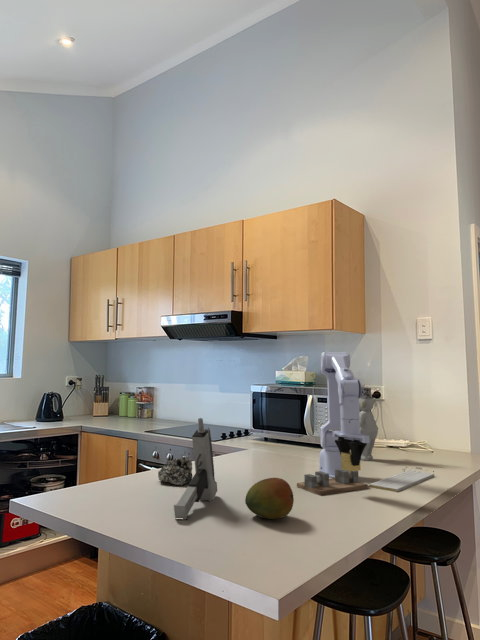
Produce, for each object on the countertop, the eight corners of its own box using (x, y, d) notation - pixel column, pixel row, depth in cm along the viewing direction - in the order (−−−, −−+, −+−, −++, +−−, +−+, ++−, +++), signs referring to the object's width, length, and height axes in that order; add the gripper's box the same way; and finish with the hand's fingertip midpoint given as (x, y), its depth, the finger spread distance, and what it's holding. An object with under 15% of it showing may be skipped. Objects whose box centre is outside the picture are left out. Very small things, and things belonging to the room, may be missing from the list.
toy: (368, 455, 213) (367, 387, 216) (387, 458, 207) (385, 387, 210) (346, 460, 200) (345, 388, 203) (365, 463, 194) (364, 388, 197)
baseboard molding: (361, 487, 157) (396, 494, 149) (361, 478, 157) (396, 484, 149) (402, 473, 180) (434, 478, 172) (401, 465, 180) (434, 469, 172)
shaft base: (296, 486, 155) (296, 470, 155) (342, 480, 164) (342, 465, 164) (320, 495, 144) (319, 478, 145) (367, 488, 153) (367, 472, 154)
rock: (204, 486, 161) (197, 459, 167) (193, 478, 153) (186, 449, 160) (168, 501, 162) (163, 474, 168) (156, 493, 154) (150, 465, 161)
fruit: (288, 528, 114) (288, 484, 115) (238, 522, 118) (238, 480, 119) (297, 514, 125) (297, 474, 126) (251, 509, 129) (251, 471, 130)
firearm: (164, 452, 117) (197, 411, 141) (174, 540, 122) (204, 486, 146) (181, 453, 116) (212, 412, 140) (191, 541, 121) (219, 487, 144)
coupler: (341, 469, 148) (341, 452, 148) (351, 467, 150) (351, 451, 150) (350, 471, 144) (350, 454, 145) (360, 470, 146) (360, 453, 147)
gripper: (324, 417, 153) (325, 461, 152) (356, 421, 140) (357, 469, 139) (342, 416, 156) (342, 459, 155) (374, 420, 144) (375, 467, 142)
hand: (350, 464), depth 147 cm, fingers closed on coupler, 4 cm apart
